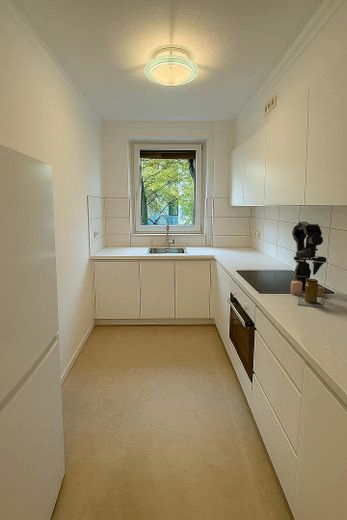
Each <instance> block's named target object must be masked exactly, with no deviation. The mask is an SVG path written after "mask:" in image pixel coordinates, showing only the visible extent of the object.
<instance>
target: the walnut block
mask: <svg viewBox="0 0 347 520" xmlns="http://www.w3.org/2000/svg"><path fill="white" fill-rule="evenodd" d="M317 285H318V284H317ZM324 296H325V287H324V286H323V285H322V286H321V285H318V293H317V298H318V297H324Z"/></svg>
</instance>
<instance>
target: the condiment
mask: <svg viewBox="0 0 347 520" xmlns="http://www.w3.org/2000/svg"><path fill="white" fill-rule="evenodd" d="M318 282H319V280H318V279H316V278H310V279H307V278H306V286H305V288H304V297H303V298H304V299H303V301H304V303H308V304H322V303H321V302H320V300H321V299H318V297H317V293H318V284H319V283H318Z"/></svg>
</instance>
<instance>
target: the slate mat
mask: <svg viewBox="0 0 347 520" xmlns="http://www.w3.org/2000/svg"><path fill="white" fill-rule="evenodd" d="M303 299H304V297H301V296H300V297H298V300H297V306H305V307H310V308H319V309H324V301H323V299H319V300H320V302H321V303H322V304H308V303H304V301H303Z"/></svg>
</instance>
